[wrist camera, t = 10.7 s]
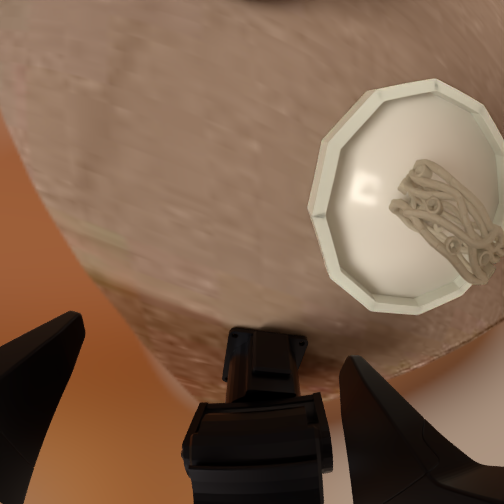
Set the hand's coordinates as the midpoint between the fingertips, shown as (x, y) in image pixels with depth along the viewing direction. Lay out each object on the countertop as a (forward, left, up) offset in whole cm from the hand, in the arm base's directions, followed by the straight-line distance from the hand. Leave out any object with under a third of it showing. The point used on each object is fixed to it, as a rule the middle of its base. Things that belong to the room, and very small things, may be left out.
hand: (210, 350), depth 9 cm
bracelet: (+4, -13, -12) cm, 17 cm away
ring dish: (+4, -13, -12) cm, 18 cm away
